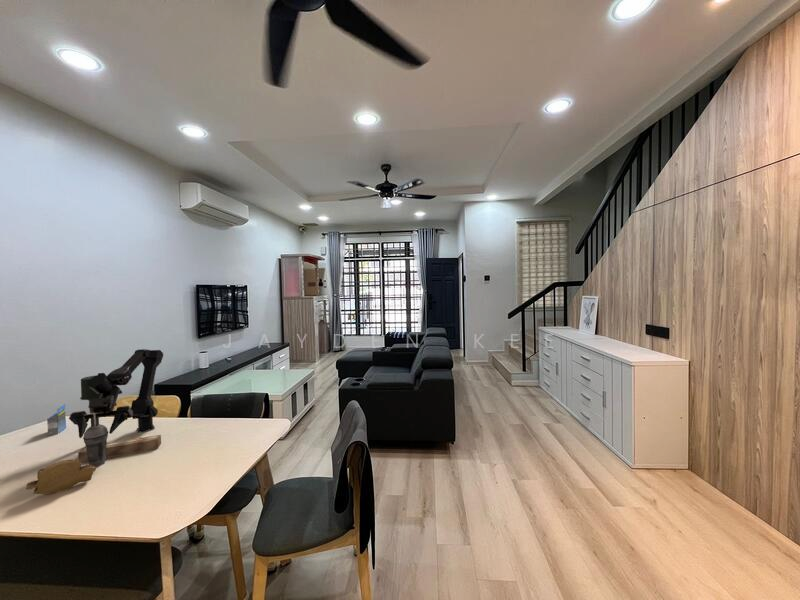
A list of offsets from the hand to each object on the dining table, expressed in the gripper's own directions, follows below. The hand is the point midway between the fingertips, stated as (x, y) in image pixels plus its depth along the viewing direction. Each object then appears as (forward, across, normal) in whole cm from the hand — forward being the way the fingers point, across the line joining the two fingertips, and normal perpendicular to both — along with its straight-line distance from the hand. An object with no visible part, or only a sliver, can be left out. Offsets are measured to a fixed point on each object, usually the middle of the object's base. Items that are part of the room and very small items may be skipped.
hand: (95, 435), depth 126 cm
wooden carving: (+20, -2, -3) cm, 20 cm away
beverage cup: (+8, 0, +9) cm, 12 cm away
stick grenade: (-9, -10, +26) cm, 29 cm away
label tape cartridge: (-27, -36, +44) cm, 63 cm away
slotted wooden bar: (+2, +5, +14) cm, 15 cm away
